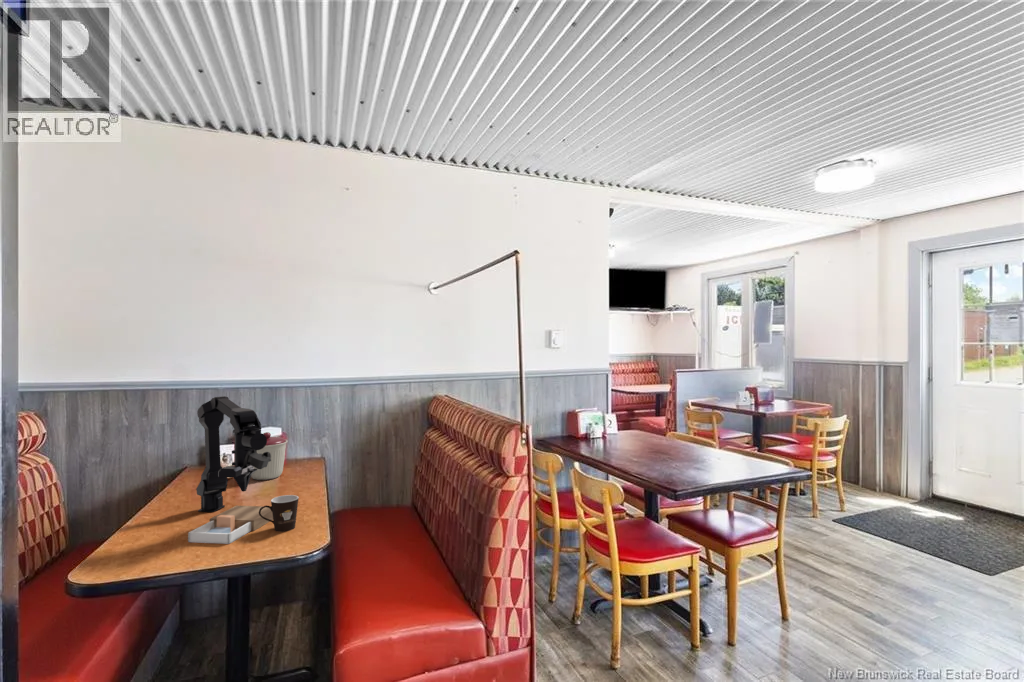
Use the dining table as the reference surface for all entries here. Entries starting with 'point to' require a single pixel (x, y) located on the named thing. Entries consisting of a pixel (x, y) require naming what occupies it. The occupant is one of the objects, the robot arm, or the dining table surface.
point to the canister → (272, 458)
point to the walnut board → (247, 516)
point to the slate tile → (220, 530)
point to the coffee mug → (283, 512)
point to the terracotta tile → (226, 521)
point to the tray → (216, 534)
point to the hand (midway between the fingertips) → (243, 491)
